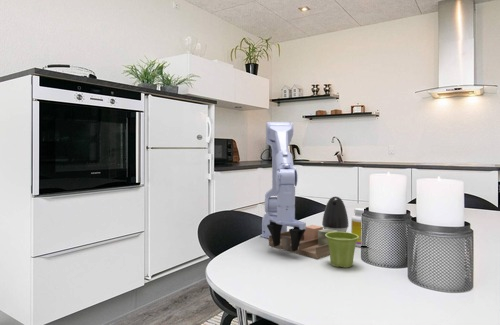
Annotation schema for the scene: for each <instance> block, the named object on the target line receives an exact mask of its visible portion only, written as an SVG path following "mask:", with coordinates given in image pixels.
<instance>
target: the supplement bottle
mask: <svg viewBox="0 0 500 325" xmlns="http://www.w3.org/2000/svg"><path fill="white" fill-rule="evenodd" d="M364 209H365V208H363V207H358V208H357V207H356V208H354V215H352V217H351V222H350V223H351V227H350V228H351V230H350V233H353V234H356V235H358V236H359V238H358V239H357V243H356V245H355V247H359V248H362V247H361V229H362V228H361V215H362V213H363V212H364Z"/></svg>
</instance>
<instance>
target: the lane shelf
mask: <svg viewBox="0 0 500 325" xmlns="http://www.w3.org/2000/svg"><path fill="white" fill-rule="evenodd" d="M329 232H338V231H337V230H331V229H324V228H323V230H319V231H318V238H316V239H312V240H309V241H305V242H304V234H303V235H302V237H301V240H300V242H302V243H299V246H298V250H297V251H292V248H291V247H290V250H285V251H286V252H290V253H294V254H297V255H300V256H304V257H308V258H311V259H316V260H319V259H321V258H325V257H328V256H330V252H329V245H328V241H327V237H326V236H325V234H326V233H329ZM282 236H289V237H290V245H291V235H290V232H289V230H287V232H283V233H281V234H280V245H278V246H274V244H273V239H272V236H271V235H270V236H269V238H268V246H269V247H272V248H275V249H279V250H282Z"/></svg>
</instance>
